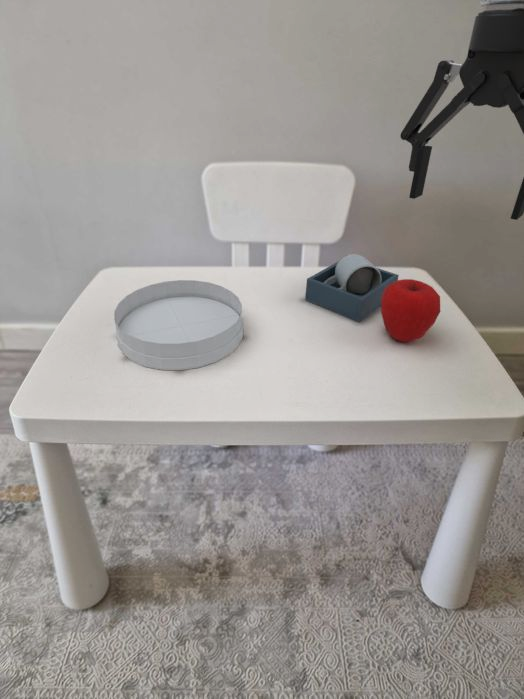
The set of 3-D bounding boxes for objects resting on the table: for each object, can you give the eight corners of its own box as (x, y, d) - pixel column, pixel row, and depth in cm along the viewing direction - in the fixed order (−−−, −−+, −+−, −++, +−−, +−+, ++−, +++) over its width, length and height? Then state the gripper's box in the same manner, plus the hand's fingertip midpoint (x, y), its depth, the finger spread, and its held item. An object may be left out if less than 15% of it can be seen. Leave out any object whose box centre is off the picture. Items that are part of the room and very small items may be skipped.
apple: (442, 344, 79) (459, 289, 73) (397, 356, 76) (410, 299, 70) (407, 317, 87) (419, 265, 81) (364, 327, 84) (374, 273, 78)
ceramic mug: (363, 282, 97) (368, 248, 93) (379, 300, 90) (385, 264, 86) (316, 286, 95) (318, 252, 91) (328, 305, 89) (331, 269, 84)
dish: (262, 353, 76) (263, 328, 73) (128, 383, 69) (123, 357, 66) (220, 294, 93) (219, 272, 90) (109, 314, 86) (104, 290, 83)
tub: (394, 296, 94) (398, 274, 91) (359, 322, 85) (363, 300, 82) (342, 277, 101) (345, 257, 98) (305, 300, 92) (306, 278, 89)
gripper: (393, 10, 54) (367, 194, 65) (649, 3, 40) (559, 234, 52) (420, 14, 58) (391, 184, 70) (657, 8, 45) (573, 219, 57)
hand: (463, 206), depth 61 cm, fingers open, 13 cm apart
